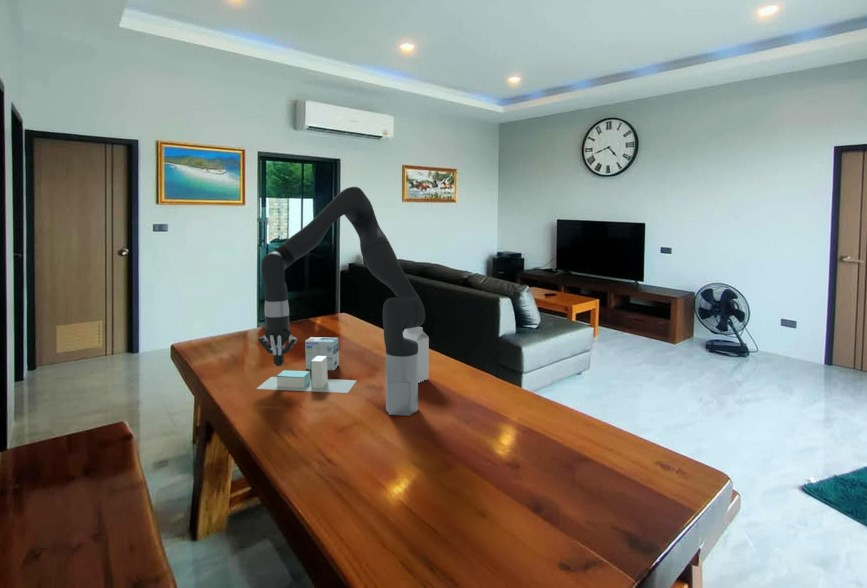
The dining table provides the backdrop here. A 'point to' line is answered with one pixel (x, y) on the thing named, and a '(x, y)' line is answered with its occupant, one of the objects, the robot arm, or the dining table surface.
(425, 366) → the milk carton
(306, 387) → the runner
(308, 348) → the light bulb box
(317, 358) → the block
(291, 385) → the tile
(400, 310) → the robot arm
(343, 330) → the dining table surface
